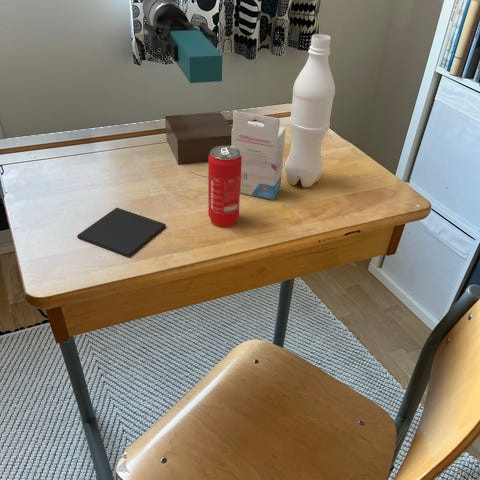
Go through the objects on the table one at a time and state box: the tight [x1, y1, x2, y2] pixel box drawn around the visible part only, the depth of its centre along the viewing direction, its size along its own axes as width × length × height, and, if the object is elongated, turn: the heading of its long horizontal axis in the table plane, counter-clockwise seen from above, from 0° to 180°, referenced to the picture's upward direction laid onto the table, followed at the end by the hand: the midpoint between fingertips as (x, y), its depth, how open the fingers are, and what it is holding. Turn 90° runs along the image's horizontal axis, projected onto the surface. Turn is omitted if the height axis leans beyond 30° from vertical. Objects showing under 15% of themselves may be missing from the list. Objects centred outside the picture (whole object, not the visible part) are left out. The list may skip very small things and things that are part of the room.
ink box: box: [231, 110, 287, 201], centre depth 90 cm, size 8×5×15 cm, turn 70°
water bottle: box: [284, 33, 336, 188], centre depth 90 cm, size 7×7×25 cm
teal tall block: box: [170, 30, 223, 84], centre depth 98 cm, size 19×6×4 cm, turn 17°
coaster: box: [76, 207, 167, 258], centre depth 83 cm, size 10×10×1 cm
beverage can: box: [207, 146, 242, 228], centre depth 83 cm, size 5×5×12 cm
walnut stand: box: [164, 111, 233, 165], centre depth 105 cm, size 12×12×5 cm
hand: (193, 53), depth 99 cm, fingers closed on teal tall block, 6 cm apart
